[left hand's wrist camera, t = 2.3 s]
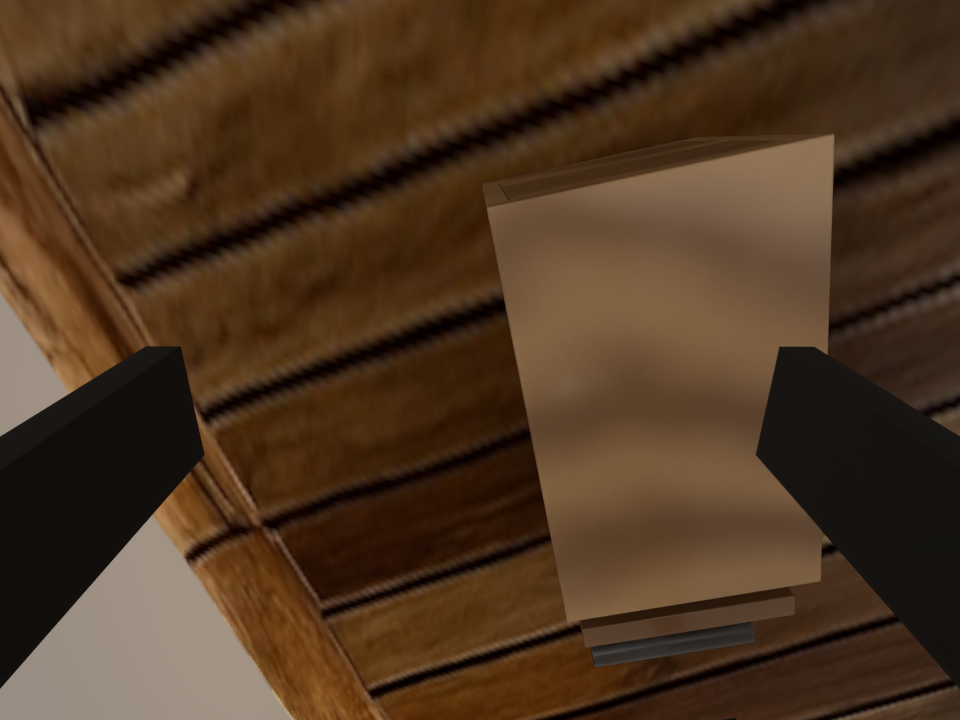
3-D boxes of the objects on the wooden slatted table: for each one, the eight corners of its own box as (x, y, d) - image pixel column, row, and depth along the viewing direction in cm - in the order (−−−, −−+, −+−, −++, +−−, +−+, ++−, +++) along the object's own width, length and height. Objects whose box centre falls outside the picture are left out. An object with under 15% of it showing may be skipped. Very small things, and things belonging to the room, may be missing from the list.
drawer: (715, 564, 37) (794, 702, 28) (570, 589, 37) (600, 731, 28) (694, 219, 28) (798, 255, 19) (507, 258, 29) (523, 310, 20)
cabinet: (712, 444, 34) (821, 581, 24) (539, 476, 35) (567, 622, 24) (695, 137, 28) (835, 133, 17) (481, 183, 28) (486, 207, 18)
